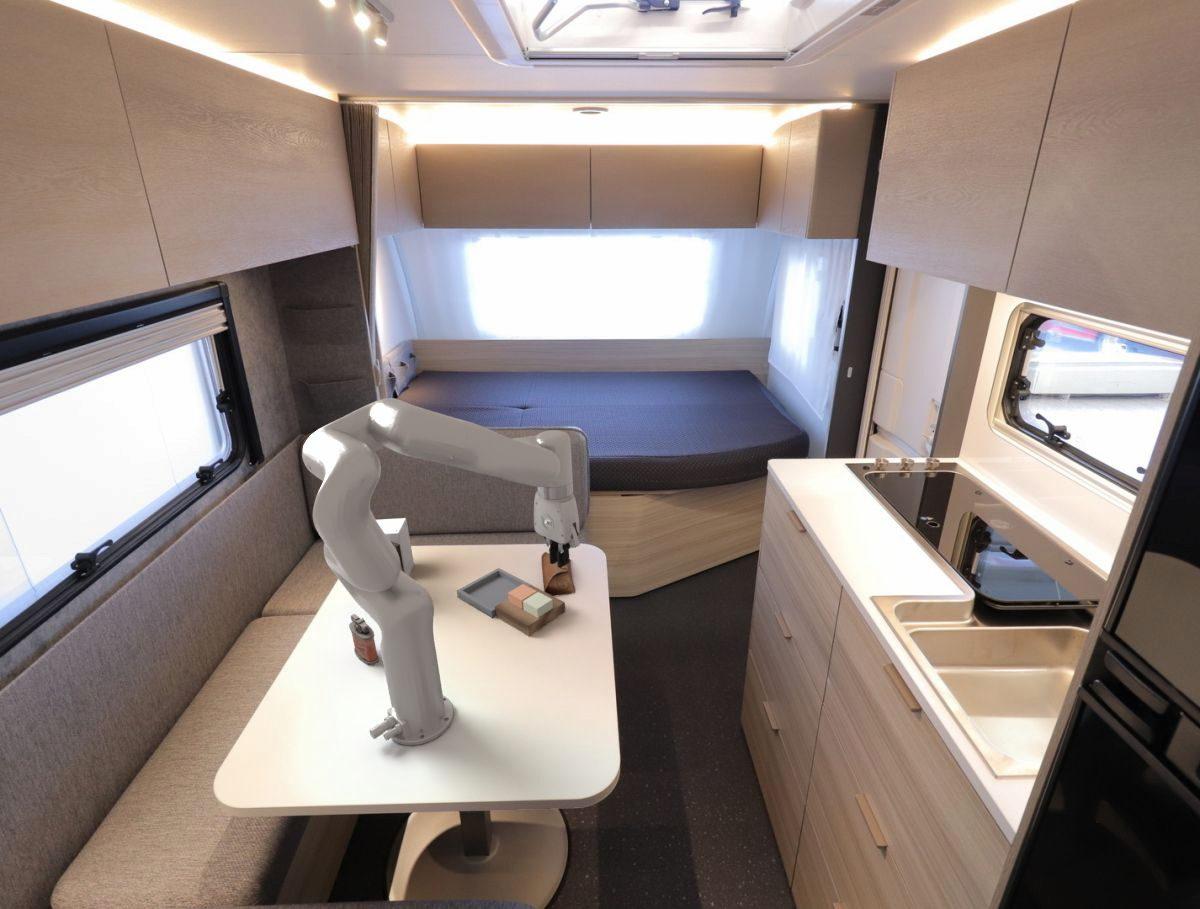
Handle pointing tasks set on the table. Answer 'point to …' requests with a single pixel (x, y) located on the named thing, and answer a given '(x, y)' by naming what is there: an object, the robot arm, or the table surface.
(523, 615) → the brown square slab
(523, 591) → the tile
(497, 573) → the tray
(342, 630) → the table surface
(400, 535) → the supplement box
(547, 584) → the sunglasses case
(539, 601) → the pale green rectangular block
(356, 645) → the lighter
